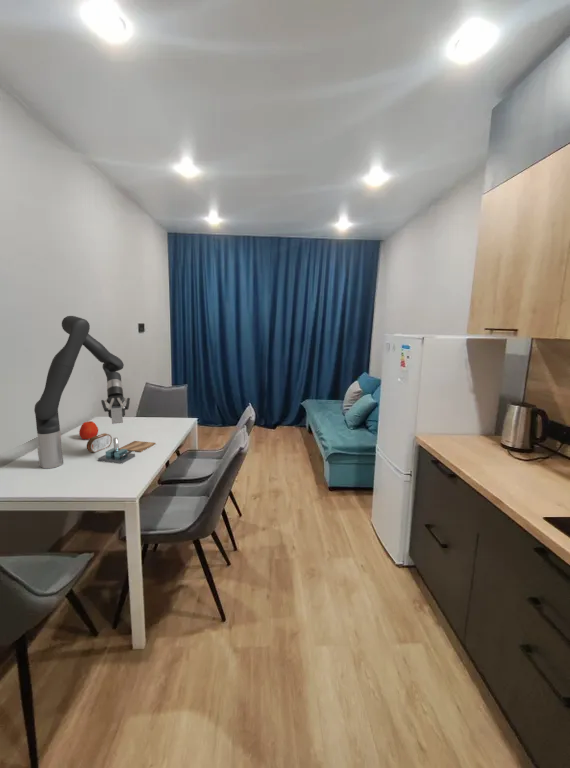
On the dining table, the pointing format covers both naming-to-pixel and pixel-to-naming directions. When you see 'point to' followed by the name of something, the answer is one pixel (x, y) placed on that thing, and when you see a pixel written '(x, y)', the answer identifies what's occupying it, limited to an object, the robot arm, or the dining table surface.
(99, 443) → the tin
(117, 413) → the sleeve
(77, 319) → the robot arm
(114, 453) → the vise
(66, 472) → the dining table surface
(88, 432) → the apple
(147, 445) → the board
